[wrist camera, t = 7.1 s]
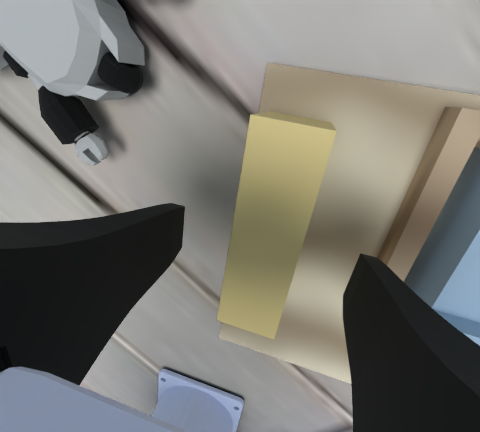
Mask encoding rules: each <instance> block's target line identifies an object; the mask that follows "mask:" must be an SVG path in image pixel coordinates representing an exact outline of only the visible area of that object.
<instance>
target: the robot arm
mask: <svg viewBox="0 0 480 432" xmlns="http://www.w3.org/2000/svg"><path fill="white" fill-rule="evenodd" d="M184 211H185V207H184V206H180V205H177V204H173V203H168V204H161V205H156V206H152V207H147V208H143V209H138V210H134V211H130V212H125V213H119V214H114V215H109V216H104V217H98V218H91V219H82V220H73V221H58V222H40V223H0V432H236V431H237V427H238V423H239V420H240V416H241V412H242V409H243V405H244V401H243V399H241V398H240V397H237V396H235V395H232V394H229V393H227V392H224V391H222V390H219V389H216V388H214V387H211V386H209V385H206V384H203V383H201V382H198V381H195V380H193V379H190V378H188V377H185V376H182V375H180V374H177V373H175V372H172V371H169V370H167V369H161V370H160V372H159V380H158V404H157V406H156V407H155V409H154V411H153V413H152V415H151V416H150V415H148V414H145V413H143V412H140V411H138V410H136V409H133V408H131V407H129V406H126V405H124V404H121V403H119V402H117V401H114V400H112V399H110V398H107V397H105V396H102V395H100V394H98V393H95V392H93V391H91V390H88V389H86V388H83V387H81V386H79V385H80V383H81V382H82V380H83V379H84V377H85V376H86V374H87V373H88V371H89V369H90V368H91V366H92V365H93V363H94V362H95V360H96V359H97V357H98V355H99V354H100V352H101V351H102V350H103V348H104V347H105V345H106V344H107V342H108V341H109V339H110V338H111V336H112V335H113V333H114V332H115V331H116V329H117V328H118V326H119V325H120V324H121V322H122V321H123V320H124V318H125V317H126V315H127V314H128V313H129V311H130V310H131V309H132V308H133V306H134V305H135V304H136V303H137V302H138V301H139V299H140V298H141V297H142V296H143V295H144V294H145V293H146V292H147V291H148V289H149V288H150V287H151V286H152V285H153V284H154V283H155V282H156V281H157V280H158V278H159V277H160V276H161V275H162V274H163V273H164V272H165V271H166V269H167V268H168V267H169V266H170V265H171V263H172V262H173V260H174V259H175V258H176V256H177V254H178V253H179V251H180V250H181V248H182V238H183V225H184ZM343 324H344V332H345V339H346V346H347V353H348V360H349V367H350V374H351V384H352V404H353V432H480V346H479V345H478V344H477V343H475V342H474V341H472V340H471V339H470V338H469V337H467V336H466V335H465V334H463V333H462V332H461V331H459V330H458V329H457V328H455V327H454V326H453V325H452V324H450V323H449V322H448V321H447V320H445V319H444V318H443V317H442V316H441V315H439V314H438V313H437V312H436V311H435V310H434V309H432V308H431V307H430V306H429V305H428V304H427V303H426V302H424V301H423V300H422V299H421V298H420V297H419V296H418V295H417V294H416V293H415V292H414V291H413V290H411V289H410V288H409V287H408V286H407V285H406V284H405V283H404V282H403V281H402V280H401V279H400V278H399V277H398V276H397V275H396V274H395V273H394V272H393V271H392V270H391V269H390V268H389V267H388V266H387V265H386V264H385V263H383V262H382V261H381V260H380V259H379V258H377V257H373V256H369V255H366V254H362V253H360V255H359V258H358V260H357V263H356V265H355V267H354V270H353V272H352V275H351V277H350V279H349V282H348V284H347V286H346V289H345V291H344V294H343Z"/></svg>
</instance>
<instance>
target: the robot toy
mask: <svg viewBox="0 0 480 432" xmlns="http://www.w3.org/2000/svg"><path fill="white" fill-rule="evenodd" d="M7 65H9V66H10V67H11V68H12V70H13V71H14V72H15V74H16V75H17V76H21V77H25V78H29V79H30V80H31V81H32V83H33V84H34V86H35V87H36V88H37V90H38V93H39V104H40V111H41V117H42V118H43V119H44V120H45V122H46V123H47V124H48V126H49V127H50V128H51V130H52V131H53V132H54V134H55V135H56V136H57V138H58V139H59V140H60V141H61V143H62V144H71V143H74V142H75V147H76V151H77V155H78V157H80V158H81V159H82V160H83V161H84V162H85V163H86V164H88V165H96V164H98V163H100V162H101V160H103V159H105V158H107V156H108V152H109V151H108V149H107V147H106V145H105V143H104V141H103V140H102V139H100V138H99V137H97V136H96V135H94V134H93V132H95V131H96V130H97V129H98V128H99V126H98V125H97V123H96V122H95V120H94V119H93V118H92V116H91V115H90V113H89V112H88V111H87V109H86V108H85V106H84V105H83V103H82V102H81V101H80V99H78V98H76V97H75V96H83V97H86V98H89V99H93V100H112V99H124V98H125V97H126V96H128V95H129V94H132V93H135V92H137V91H138V90H139V89H140V88H141V86H142V83H143V73H142V71H141V69H140V68H139V67H138V66H137V65H143V66H145V63H144V46H143V45H142V43H141V42H140V40H139V39H138V37H137V36H136V34H135V33H134V32H133V30H132V29H131V27H130V26H129V23H128V19H127V16H126V13H125V11H124V10H123V8H122V7H121V6H120V4H119V3H118V1H117V0H0V70H1V69H2V68H4V67H6V66H7Z"/></svg>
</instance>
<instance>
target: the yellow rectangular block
mask: <svg viewBox="0 0 480 432" xmlns="http://www.w3.org/2000/svg"><path fill="white" fill-rule="evenodd" d="M336 132H337V131H336V129H335V127H334V126H333V124H332V123H331V122H326V121H321V120H315V119H310V118H304V117H299V116H294V115H288V114H283V113H278V112H272V111H266V112H261V113H256V114H251V115H250V121H249V127H248V133H247V139H246V145H245V151H244V157H243V164H242V170H241V176H240V182H239V188H238V194H237V200H236V206H235V213H234V219H233V225H232V231H231V237H230V243H229V249H228V255H227V261H226V268H225V274H224V280H223V286H222V292H221V298H220V304H219V310H218V317H217V321H220V322H223V323H226V324H229V325H232V326H235V327H238V328H241V329H244V330H247V331H250V332H253V333H256V334H259V335H262V336H265V337H268V338H271V339H274V338H275V335H276V332H277V328H278V325H279V322H280V318H281V315H282V312H283V308H284V305H285V302H286V298H287V295H288V292H289V288H290V285H291V282H292V279H293V275H294V272H295V269H296V265H297V262H298V259H299V255H300V252H301V249H302V245H303V242H304V239H305V235H306V232H307V229H308V225H309V222H310V219H311V215H312V212H313V209H314V205H315V202H316V199H317V195H318V192H319V189H320V185H321V182H322V179H323V175H324V172H325V169H326V165H327V162H328V159H329V156H330V152H331V149H332V146H333V142H334V139H335V136H336Z"/></svg>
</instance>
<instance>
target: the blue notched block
mask: <svg viewBox="0 0 480 432" xmlns="http://www.w3.org/2000/svg"><path fill="white" fill-rule="evenodd" d="M404 283H405V284H406V285H407V286H408V287H409V288H410V289H411V290H413V291H414V292H415V293H416V294H417V295H418V296H419V297H420V298H421V299H422V300H423V301H424V302H426V303H427V304H428V305H429V306H430V307H431V308H432V309H434V310H435V311H436V312H437V313H438V314H439V315H441V316H442V317H443V318H444V319H445V320H447V321H448V322H449V323H450V324H452V325H453V326H454V327H455V328H457V329H458V330H459V331H461V332H462V333H463V334H465V335H466V336H467V337H469V338H470V339H471V340H472V341H474V342H475V343H477V344H478V345H479V346H480V148H477V147H474V149H473V151H472V153H471V155H470V157H469V159H468V161H467V163H466V165H465V166H464V168H463V170H462V172H461V174H460V176H459V178H458V180H457V182H456V184H455V185H454V187H453V189H452V191H451V193H450V195H449V197H448V199H447V201H446V202H445V204H444V206H443V208H442V210H441V212H440V214H439V216H438V218H437V220H436V221H435V223H434V225H433V227H432V229H431V231H430V233H429V235H428V237H427V239H426V240H425V242H424V244H423V246H422V248H421V250H420V252H419V254H418V256H417V258H416V259H415V261H414V263H413V265H412V267H411V269H410V271H409V273H408V275H407V277H406V278H405V280H404Z"/></svg>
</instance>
